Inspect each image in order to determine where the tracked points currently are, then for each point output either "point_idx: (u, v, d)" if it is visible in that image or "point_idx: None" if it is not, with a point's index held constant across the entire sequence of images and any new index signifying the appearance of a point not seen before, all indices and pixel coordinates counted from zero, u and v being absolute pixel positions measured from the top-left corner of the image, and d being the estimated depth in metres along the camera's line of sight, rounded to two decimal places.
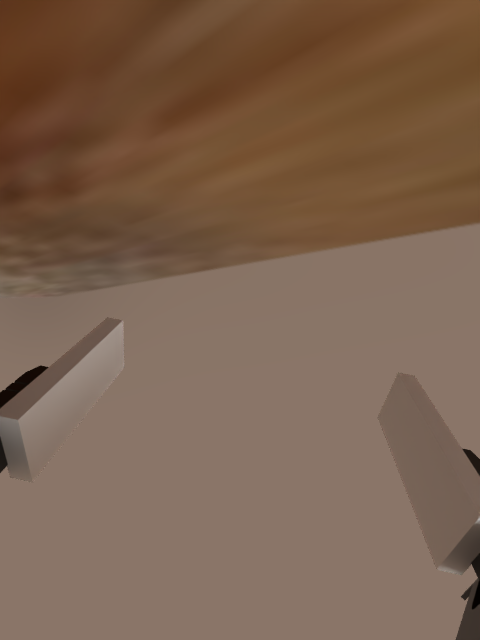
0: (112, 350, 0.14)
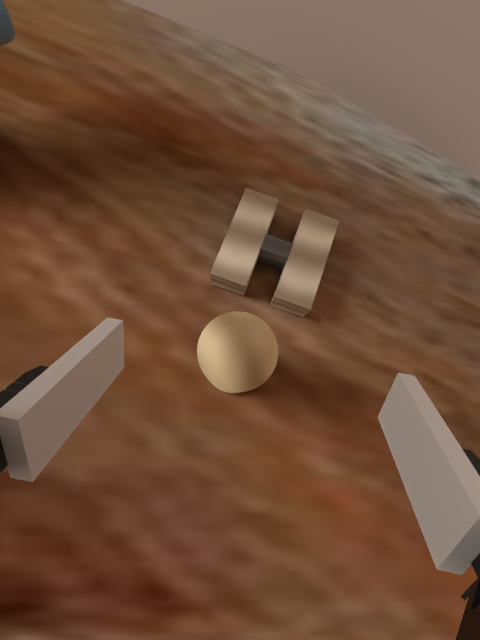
0: (112, 350, 0.14)
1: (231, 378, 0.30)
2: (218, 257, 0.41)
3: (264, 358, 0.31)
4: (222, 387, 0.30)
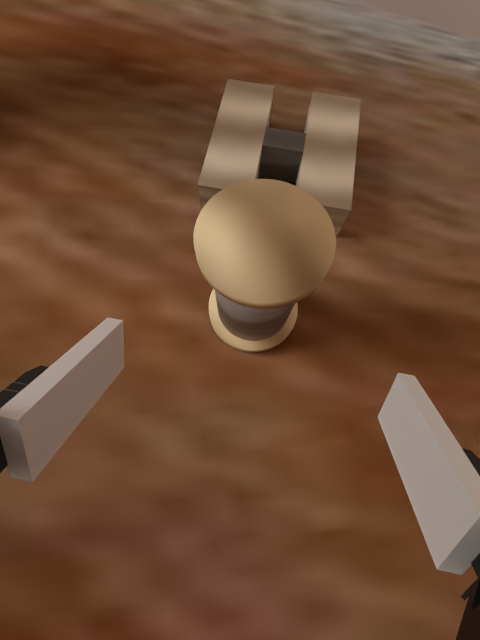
0: (112, 350, 0.14)
1: (263, 281, 0.17)
2: (205, 163, 0.29)
3: (313, 241, 0.17)
4: (250, 297, 0.16)
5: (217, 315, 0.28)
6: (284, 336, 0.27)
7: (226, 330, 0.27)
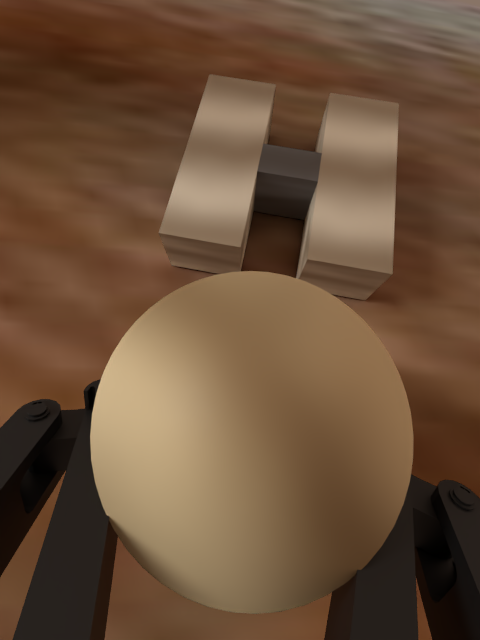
0: None
1: (246, 544, 0.07)
2: (172, 199, 0.19)
3: (361, 428, 0.08)
4: (213, 599, 0.07)
5: None
6: None
7: None
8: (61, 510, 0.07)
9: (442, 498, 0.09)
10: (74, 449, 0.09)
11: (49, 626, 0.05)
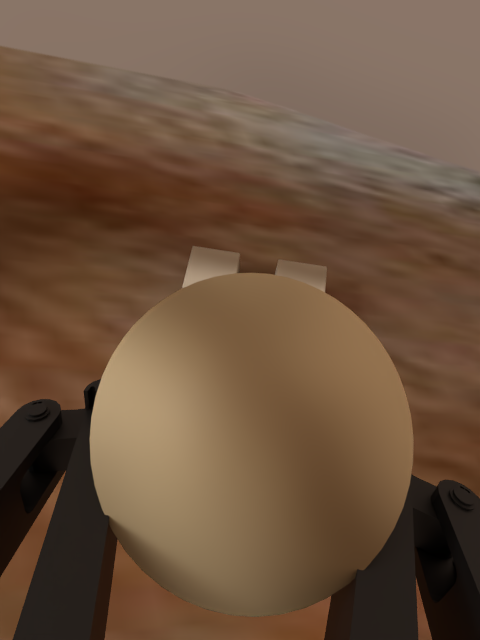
0: None
1: (246, 547, 0.07)
2: None
3: (361, 430, 0.08)
4: (212, 602, 0.07)
5: None
6: None
7: None
8: (61, 510, 0.07)
9: (442, 498, 0.09)
10: (74, 449, 0.09)
11: (49, 626, 0.05)
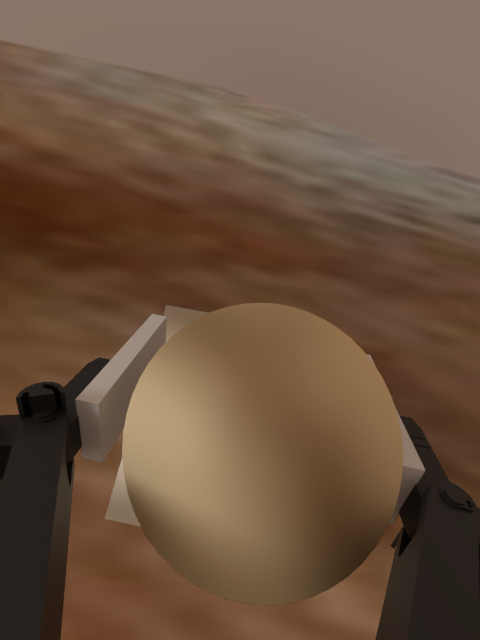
0: (158, 344, 0.15)
1: (260, 546, 0.08)
2: (121, 473, 0.19)
3: (358, 444, 0.09)
4: (233, 593, 0.08)
5: None
6: None
7: None
8: None
9: None
10: (9, 460, 0.08)
11: None
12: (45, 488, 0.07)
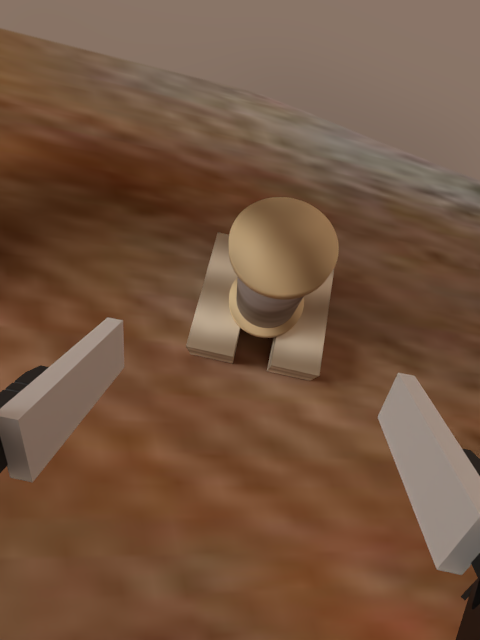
0: (112, 350, 0.14)
1: (281, 277, 0.22)
2: (194, 324, 0.33)
3: (321, 248, 0.22)
4: (271, 290, 0.21)
5: (236, 305, 0.33)
6: (292, 325, 0.32)
7: (243, 318, 0.32)
8: None
9: None
10: None
11: None
12: None
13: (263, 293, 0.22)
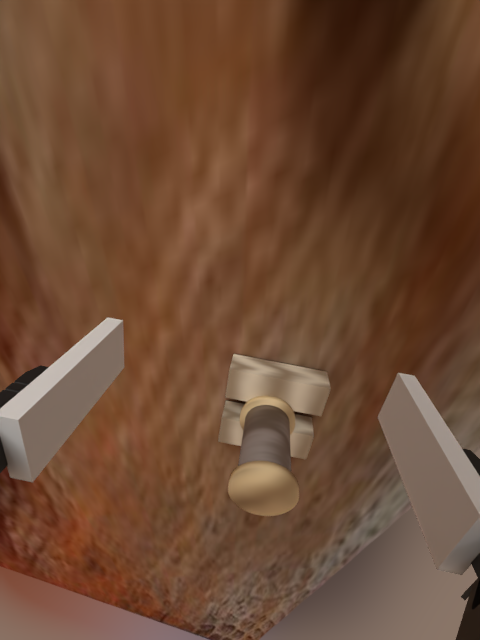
0: (112, 350, 0.14)
1: (238, 490, 0.35)
2: (247, 374, 0.43)
3: (260, 508, 0.36)
4: (229, 485, 0.35)
5: (260, 404, 0.44)
6: None
7: (251, 408, 0.44)
8: None
9: None
10: None
11: None
12: None
13: (230, 477, 0.35)
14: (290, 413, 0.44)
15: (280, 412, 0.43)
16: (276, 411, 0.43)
